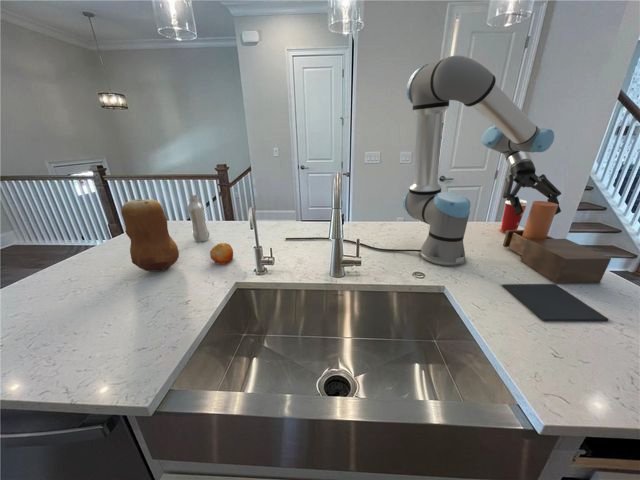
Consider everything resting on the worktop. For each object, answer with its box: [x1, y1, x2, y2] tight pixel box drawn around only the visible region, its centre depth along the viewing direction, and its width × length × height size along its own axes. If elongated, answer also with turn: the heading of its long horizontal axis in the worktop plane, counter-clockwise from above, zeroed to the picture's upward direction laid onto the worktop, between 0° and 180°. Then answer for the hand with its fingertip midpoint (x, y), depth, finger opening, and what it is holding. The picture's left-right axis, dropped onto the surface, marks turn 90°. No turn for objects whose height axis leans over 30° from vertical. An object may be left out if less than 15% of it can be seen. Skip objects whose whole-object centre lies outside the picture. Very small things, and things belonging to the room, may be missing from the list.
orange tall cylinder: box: [522, 200, 558, 239], centre depth 95 cm, size 7×7×18 cm
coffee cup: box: [500, 198, 528, 234], centre depth 118 cm, size 8×8×15 cm
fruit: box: [209, 242, 234, 265], centre depth 95 cm, size 8×8×8 cm
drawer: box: [502, 229, 555, 256], centre depth 98 cm, size 19×12×7 cm, turn 179°
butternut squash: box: [120, 198, 180, 272], centre depth 87 cm, size 14×13×25 cm
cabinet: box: [519, 238, 612, 284], centre depth 86 cm, size 16×14×9 cm
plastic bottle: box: [186, 194, 210, 242], centre depth 112 cm, size 6×7×20 cm
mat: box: [501, 283, 609, 322], centre depth 72 cm, size 16×16×1 cm
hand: (538, 213), depth 95 cm, fingers open, 13 cm apart
